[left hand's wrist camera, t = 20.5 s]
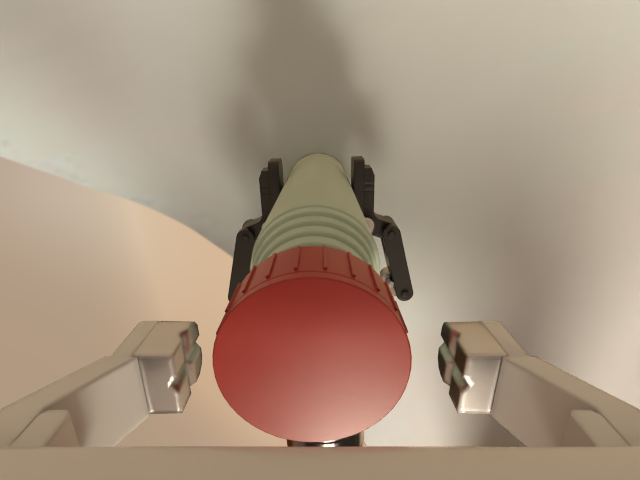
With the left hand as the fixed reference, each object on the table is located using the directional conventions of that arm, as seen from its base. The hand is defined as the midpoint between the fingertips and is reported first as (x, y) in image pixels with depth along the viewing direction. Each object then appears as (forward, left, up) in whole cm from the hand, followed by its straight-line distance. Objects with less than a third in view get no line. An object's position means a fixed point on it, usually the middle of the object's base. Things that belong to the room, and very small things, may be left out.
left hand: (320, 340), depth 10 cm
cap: (-1, -1, +2) cm, 2 cm away
